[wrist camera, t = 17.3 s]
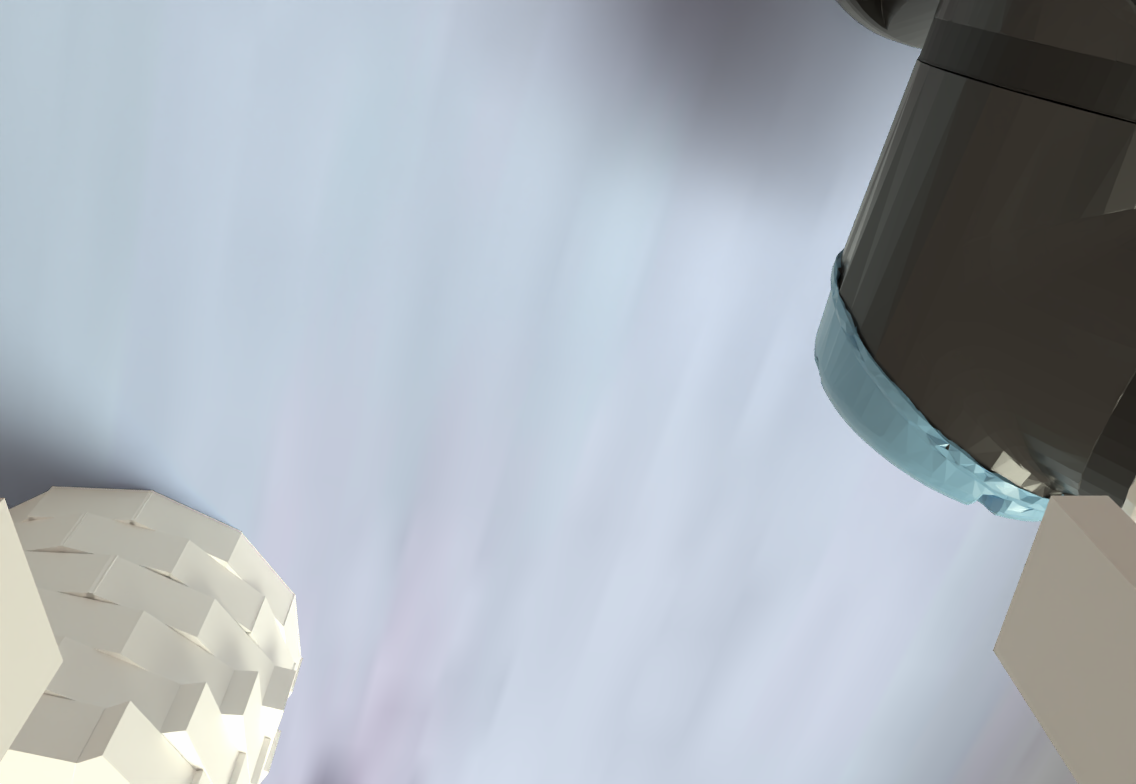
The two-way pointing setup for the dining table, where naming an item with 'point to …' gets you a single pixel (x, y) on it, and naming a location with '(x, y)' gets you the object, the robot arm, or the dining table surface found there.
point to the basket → (152, 644)
